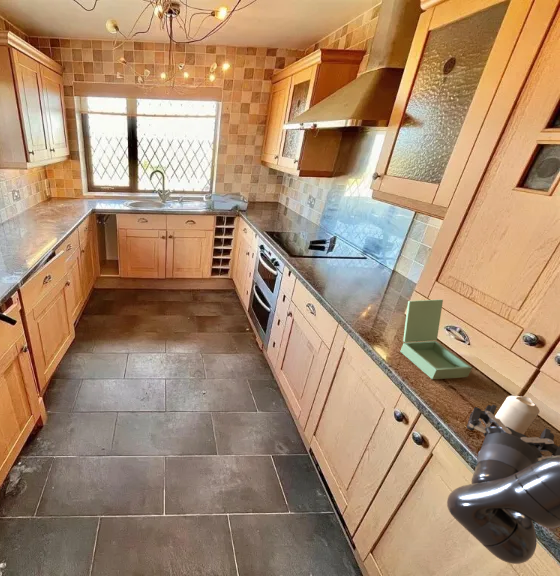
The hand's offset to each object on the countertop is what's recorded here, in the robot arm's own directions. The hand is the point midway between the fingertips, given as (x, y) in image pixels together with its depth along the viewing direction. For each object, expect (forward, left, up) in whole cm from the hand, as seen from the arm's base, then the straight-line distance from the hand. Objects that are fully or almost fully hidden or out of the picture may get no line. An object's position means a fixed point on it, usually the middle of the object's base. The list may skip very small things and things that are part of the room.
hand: (518, 419), depth 70 cm
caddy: (+9, -27, -8) cm, 30 cm away
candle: (-2, -5, -8) cm, 10 cm away
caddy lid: (+13, -34, +3) cm, 37 cm away
